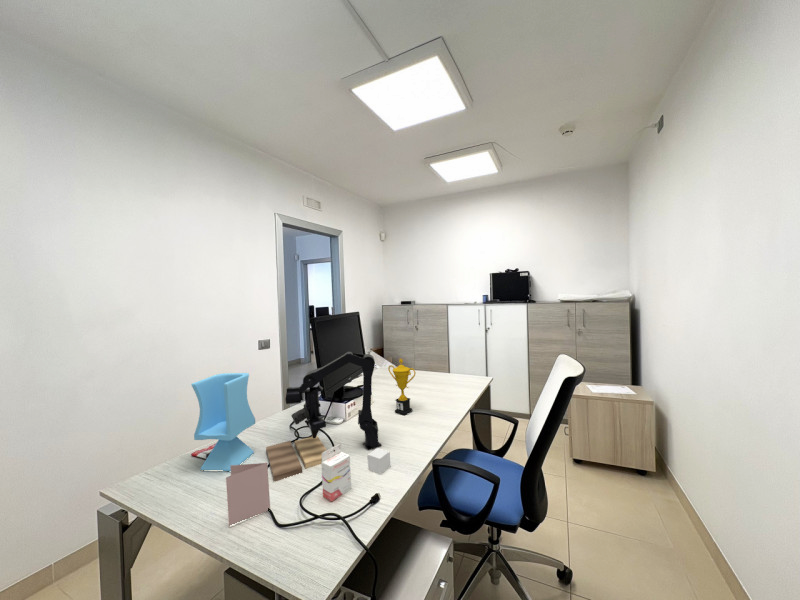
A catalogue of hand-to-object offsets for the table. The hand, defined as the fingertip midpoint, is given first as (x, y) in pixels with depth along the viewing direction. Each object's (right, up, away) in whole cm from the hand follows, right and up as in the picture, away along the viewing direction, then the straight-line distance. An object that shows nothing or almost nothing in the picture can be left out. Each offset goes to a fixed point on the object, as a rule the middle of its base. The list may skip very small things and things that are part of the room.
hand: (314, 437), depth 131 cm
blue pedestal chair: (-34, -8, -5) cm, 35 cm away
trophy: (+39, -3, +39) cm, 55 cm away
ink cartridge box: (+16, -6, -28) cm, 33 cm away
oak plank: (-1, -6, -1) cm, 6 cm away
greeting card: (-10, -8, -38) cm, 40 cm away
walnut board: (-11, -7, -6) cm, 14 cm away
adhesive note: (+29, -5, -15) cm, 33 cm away
